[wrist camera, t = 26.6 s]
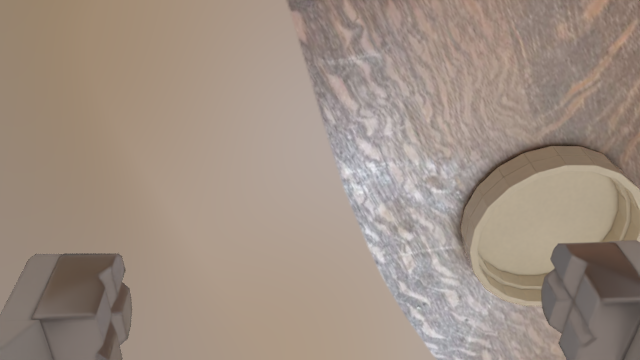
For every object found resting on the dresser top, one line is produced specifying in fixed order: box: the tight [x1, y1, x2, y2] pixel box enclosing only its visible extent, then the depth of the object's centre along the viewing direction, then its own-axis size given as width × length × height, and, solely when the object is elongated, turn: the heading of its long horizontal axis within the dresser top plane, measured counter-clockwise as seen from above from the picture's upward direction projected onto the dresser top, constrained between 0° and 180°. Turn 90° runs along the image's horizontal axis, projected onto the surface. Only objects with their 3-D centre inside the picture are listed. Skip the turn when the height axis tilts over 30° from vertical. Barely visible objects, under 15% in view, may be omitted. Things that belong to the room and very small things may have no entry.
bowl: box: [461, 146, 640, 306], centre depth 50 cm, size 14×14×4 cm
